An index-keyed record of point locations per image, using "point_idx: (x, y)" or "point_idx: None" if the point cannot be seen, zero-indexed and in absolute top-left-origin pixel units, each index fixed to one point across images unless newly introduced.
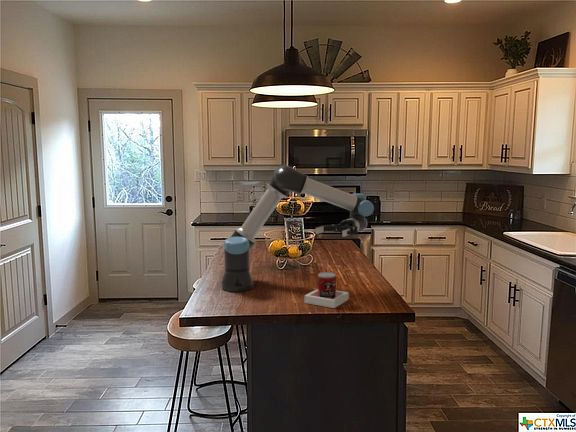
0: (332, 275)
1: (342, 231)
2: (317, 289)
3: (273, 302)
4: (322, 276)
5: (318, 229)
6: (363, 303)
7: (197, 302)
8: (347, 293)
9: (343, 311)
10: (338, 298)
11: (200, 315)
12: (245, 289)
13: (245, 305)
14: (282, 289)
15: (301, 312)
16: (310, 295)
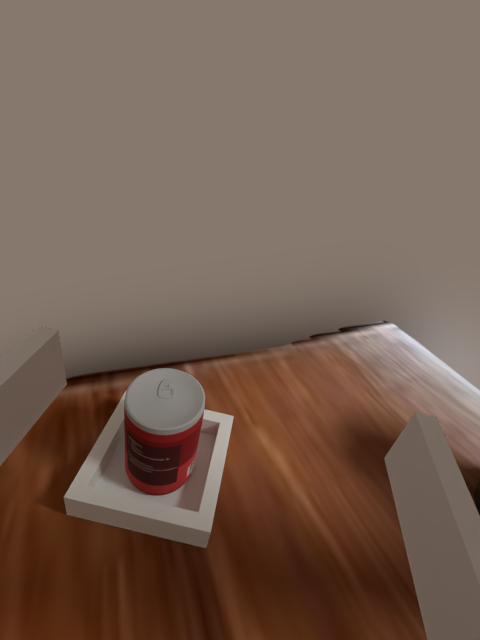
0: (140, 400)
1: (58, 338)
2: (213, 499)
3: (314, 416)
4: (179, 370)
5: (417, 460)
6: (3, 481)
7: (456, 380)
8: (70, 487)
9: (95, 392)
10: (112, 414)
11: (378, 330)
12: (478, 494)
13: (356, 383)
14: (394, 575)
15: (209, 368)
16: (215, 421)
